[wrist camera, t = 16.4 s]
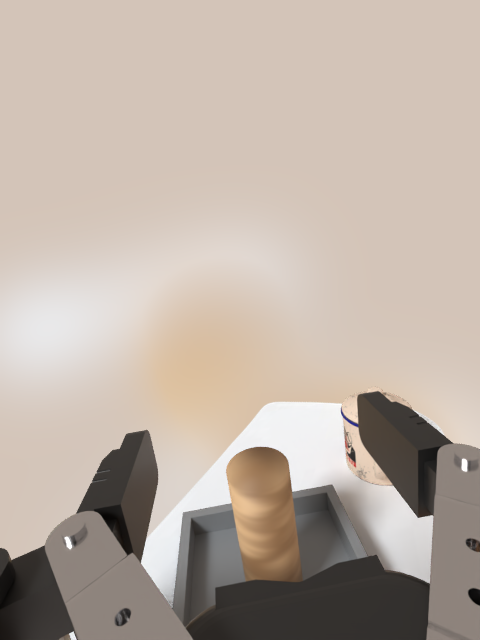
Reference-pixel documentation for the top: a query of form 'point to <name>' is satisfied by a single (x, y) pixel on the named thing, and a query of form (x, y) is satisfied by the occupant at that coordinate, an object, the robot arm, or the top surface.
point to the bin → (225, 557)
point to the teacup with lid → (355, 450)
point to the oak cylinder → (264, 515)
